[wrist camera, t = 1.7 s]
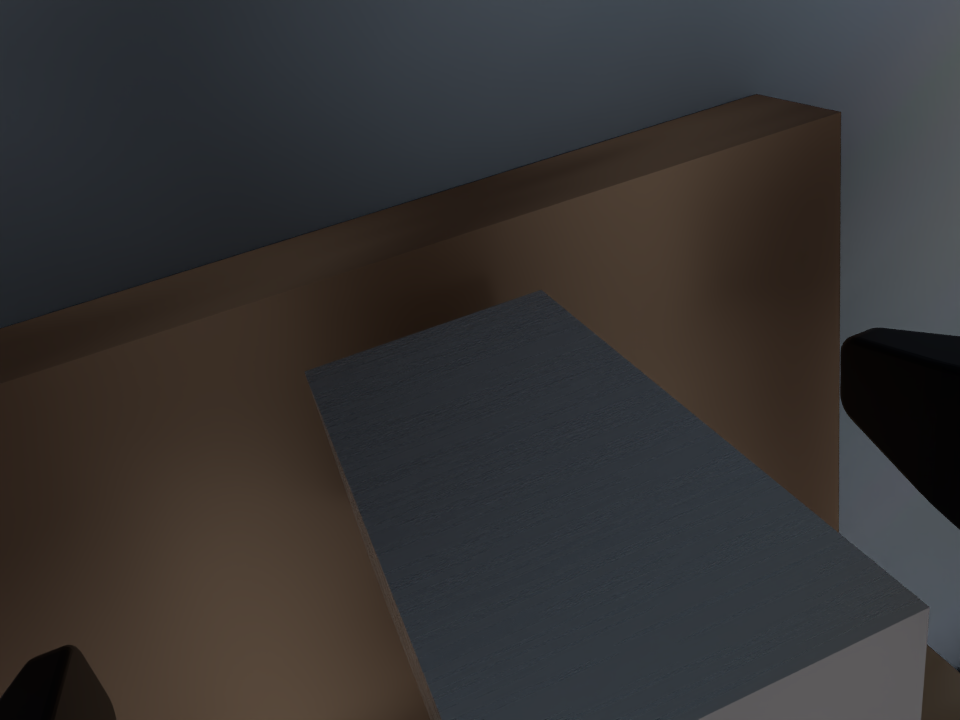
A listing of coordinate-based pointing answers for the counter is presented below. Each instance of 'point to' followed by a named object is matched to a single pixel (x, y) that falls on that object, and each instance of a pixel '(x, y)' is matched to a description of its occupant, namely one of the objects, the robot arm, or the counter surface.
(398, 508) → the slider
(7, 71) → the counter surface
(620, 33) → the counter surface
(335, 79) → the counter surface
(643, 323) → the track board
